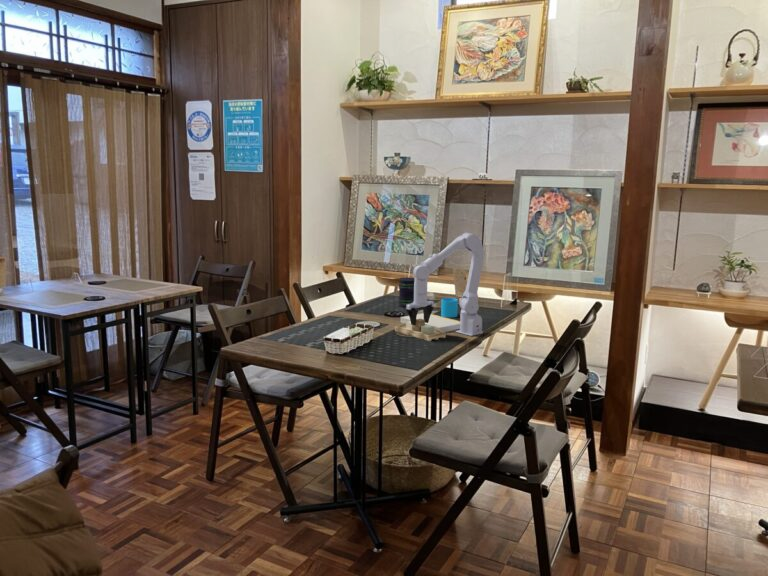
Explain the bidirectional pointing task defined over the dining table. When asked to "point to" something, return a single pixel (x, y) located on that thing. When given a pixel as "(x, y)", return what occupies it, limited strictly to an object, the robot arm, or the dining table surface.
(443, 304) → the mug
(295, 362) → the dining table surface
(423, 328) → the pale green block
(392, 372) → the dining table surface
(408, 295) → the storage jar
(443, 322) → the dock
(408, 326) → the off-white square block
